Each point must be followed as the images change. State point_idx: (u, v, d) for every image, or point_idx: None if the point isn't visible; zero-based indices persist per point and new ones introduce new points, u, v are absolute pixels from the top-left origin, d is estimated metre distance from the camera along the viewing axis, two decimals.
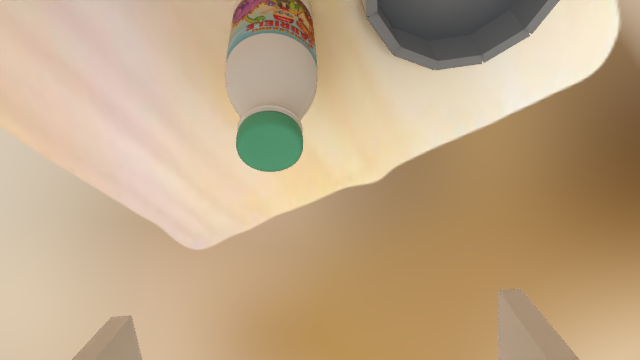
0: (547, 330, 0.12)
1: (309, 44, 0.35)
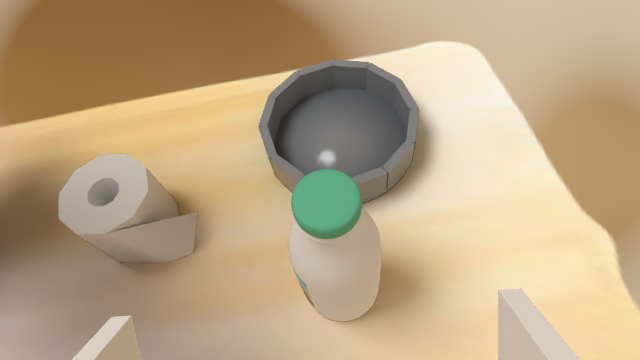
0: (547, 330, 0.12)
1: None
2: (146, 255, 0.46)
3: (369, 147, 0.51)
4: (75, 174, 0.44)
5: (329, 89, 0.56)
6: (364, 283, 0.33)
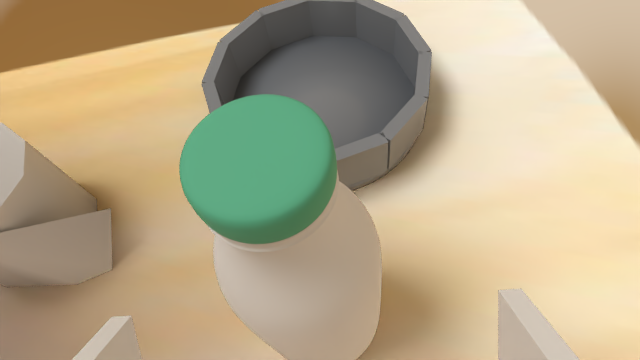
0: (547, 330, 0.12)
1: None
2: (35, 275, 0.30)
3: (361, 111, 0.36)
4: None
5: (306, 38, 0.41)
6: (352, 323, 0.18)
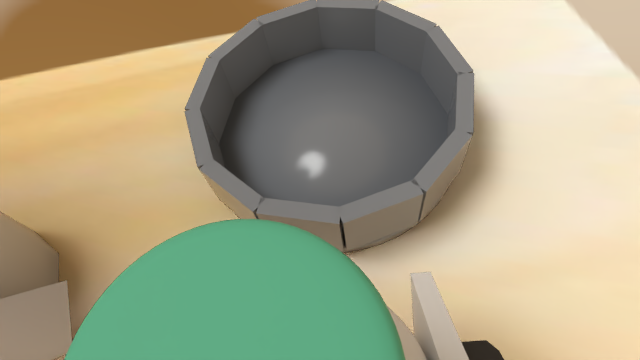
0: (438, 305, 0.14)
1: None
2: None
3: (383, 144, 0.29)
4: None
5: (314, 52, 0.35)
6: None
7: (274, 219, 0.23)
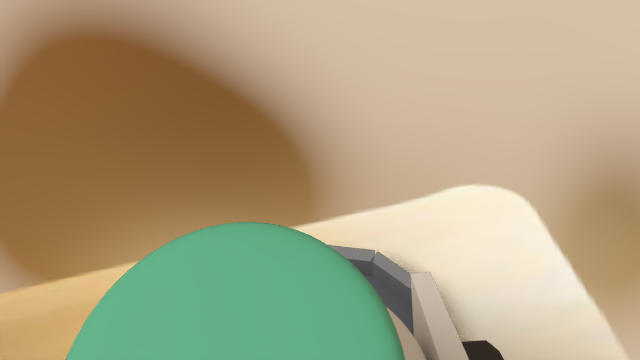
0: (438, 305, 0.14)
1: None
2: None
3: None
4: None
5: None
6: None
7: None
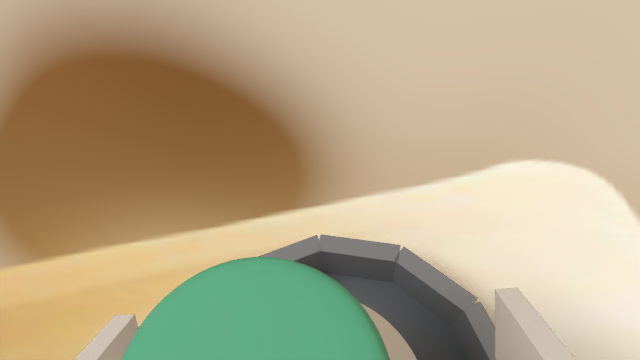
0: (542, 328, 0.12)
1: None
2: None
3: None
4: None
5: None
6: None
7: None
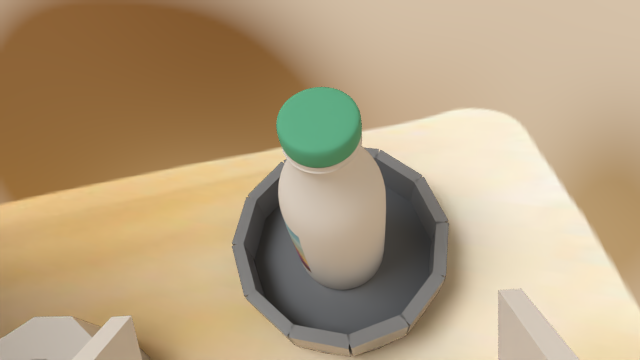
0: (547, 330, 0.12)
1: None
2: None
3: (381, 265, 0.38)
4: None
5: None
6: (366, 234, 0.29)
7: (301, 341, 0.33)
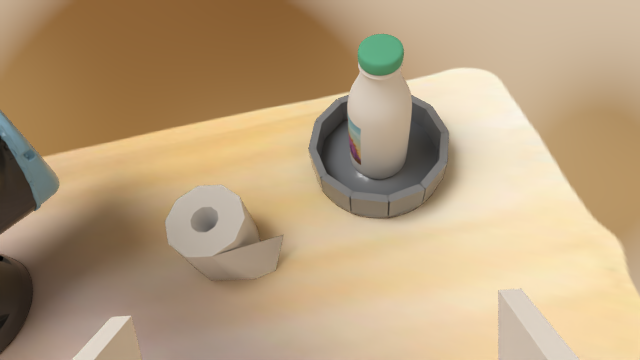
0: (547, 330, 0.12)
1: None
2: (237, 273, 0.52)
3: (404, 165, 0.58)
4: (177, 204, 0.50)
5: None
6: (401, 126, 0.49)
7: (358, 201, 0.53)
